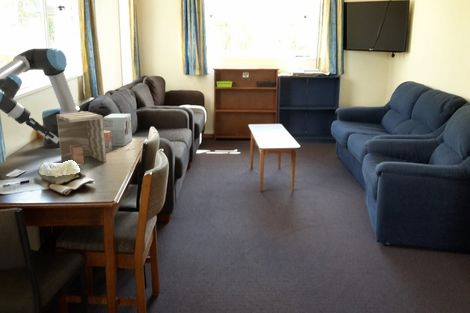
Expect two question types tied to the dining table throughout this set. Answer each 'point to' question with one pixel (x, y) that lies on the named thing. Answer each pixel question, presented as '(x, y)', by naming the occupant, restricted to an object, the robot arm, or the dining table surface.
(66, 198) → the dining table surface
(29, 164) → the dining table surface
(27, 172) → the dining table surface
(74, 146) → the terracotta block
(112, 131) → the supplement box
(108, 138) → the stack of blocks
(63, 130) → the open side box
